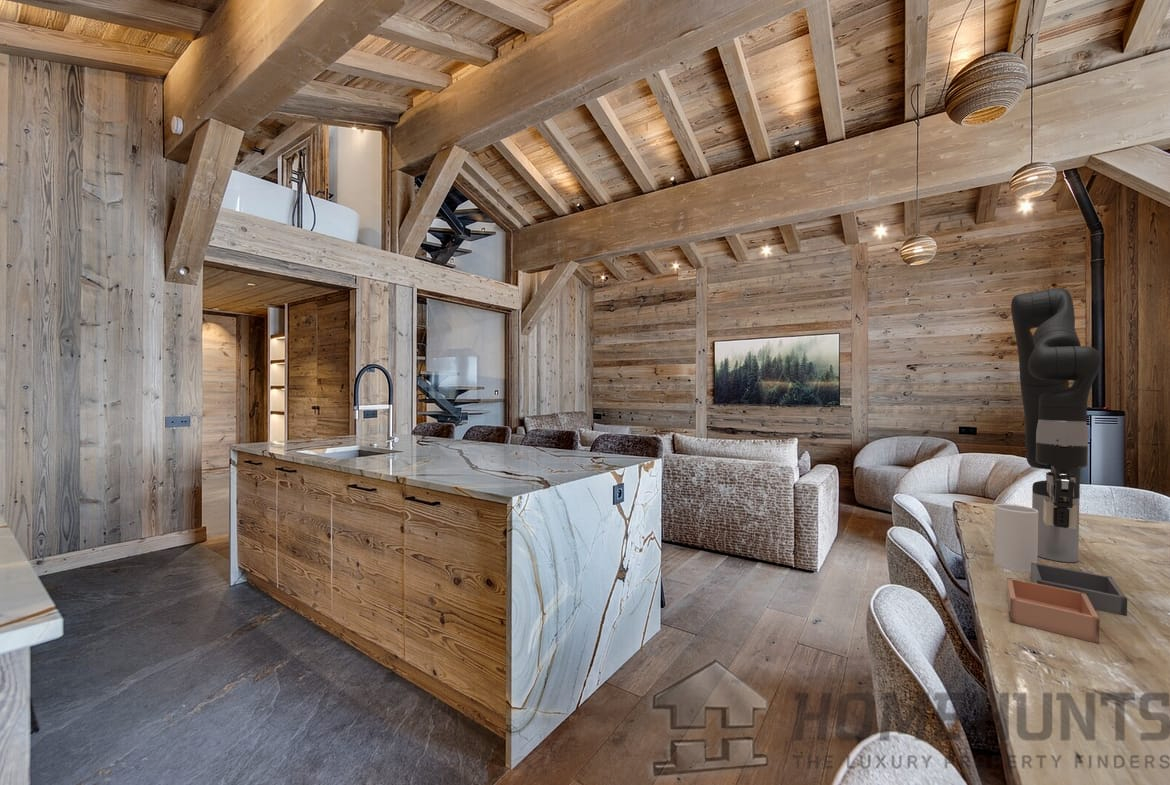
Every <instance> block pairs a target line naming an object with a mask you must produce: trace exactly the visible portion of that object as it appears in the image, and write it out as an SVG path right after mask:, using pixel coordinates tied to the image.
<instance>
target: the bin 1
mask: <svg viewBox="0 0 1170 785" xmlns="http://www.w3.org/2000/svg"><path fill="white" fill-rule="evenodd" d="M1006 598H1007V604H1008V616H1009V622H1011V623H1013V624H1019V625H1023V626H1027V627H1031V628H1035V629H1038V630H1039V629H1040V630H1043V631H1047V632H1051V633H1056V634H1059V635H1064V636H1067V637H1072V638H1076V639H1080V640H1083V641H1088V642H1093V643H1097V644H1100V625H1101V624H1100V622H1101V620H1100V617H1099V614H1098V613H1097V611H1096V609H1094V608H1093V606H1092V604H1091V602H1090V600H1089V599H1088V597H1087V595H1086V593H1082V592H1077V591H1072V590H1067V589H1062V588H1057V587H1052V586H1047V585H1042V584H1037V583H1033V582H1032V581H1027V580H1023V579H1016V578H1012V577H1006Z"/></svg>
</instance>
